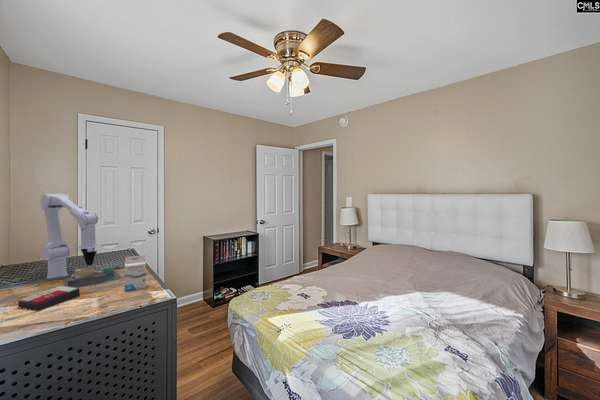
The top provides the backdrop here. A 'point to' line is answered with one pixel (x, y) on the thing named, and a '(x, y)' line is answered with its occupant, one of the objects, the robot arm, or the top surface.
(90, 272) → the birch block
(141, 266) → the ink box
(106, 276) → the vise base
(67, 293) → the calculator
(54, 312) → the top surface
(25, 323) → the top surface
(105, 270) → the sliding jaw
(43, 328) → the top surface
